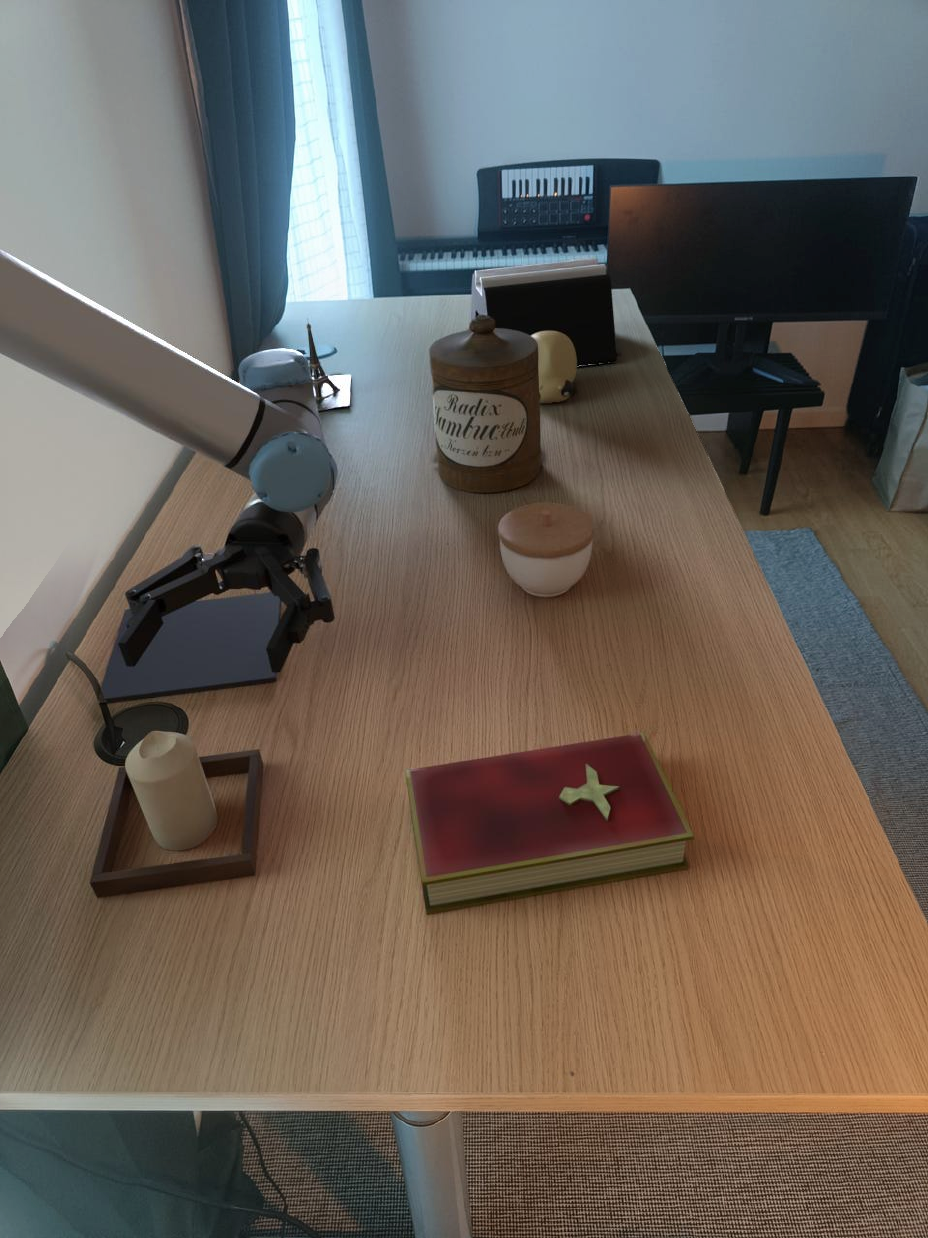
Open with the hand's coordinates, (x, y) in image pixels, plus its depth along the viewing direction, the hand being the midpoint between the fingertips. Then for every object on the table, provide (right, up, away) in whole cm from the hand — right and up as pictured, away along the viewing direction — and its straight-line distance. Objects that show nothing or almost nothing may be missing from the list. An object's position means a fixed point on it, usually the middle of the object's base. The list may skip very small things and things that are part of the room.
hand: (198, 658), depth 76 cm
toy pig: (+38, +41, +71) cm, 90 cm away
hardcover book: (+30, -14, -4) cm, 33 cm away
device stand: (+38, +54, +88) cm, 110 cm away
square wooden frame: (-1, -14, -1) cm, 15 cm away
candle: (-1, -15, -1) cm, 15 cm away
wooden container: (+27, +25, +50) cm, 62 cm away
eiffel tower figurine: (-1, +42, +76) cm, 87 cm away
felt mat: (-6, 0, +20) cm, 20 cm away
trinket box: (+33, +8, +26) cm, 43 cm away
